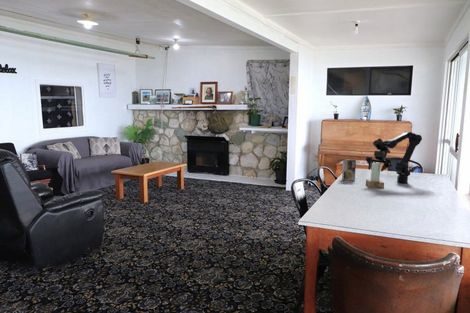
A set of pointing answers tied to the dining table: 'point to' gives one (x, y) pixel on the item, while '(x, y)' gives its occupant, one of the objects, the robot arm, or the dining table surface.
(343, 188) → the dining table surface
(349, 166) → the coffee box
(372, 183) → the walnut base block
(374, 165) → the sage block
